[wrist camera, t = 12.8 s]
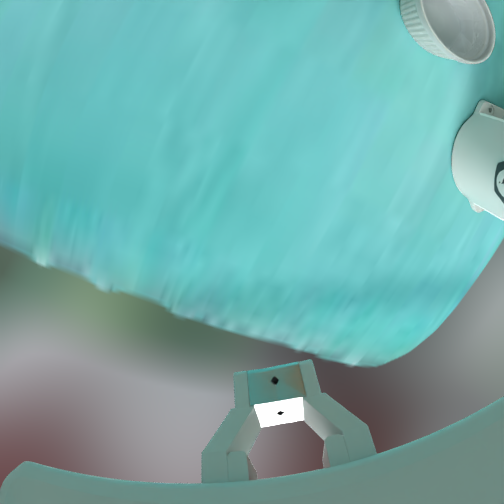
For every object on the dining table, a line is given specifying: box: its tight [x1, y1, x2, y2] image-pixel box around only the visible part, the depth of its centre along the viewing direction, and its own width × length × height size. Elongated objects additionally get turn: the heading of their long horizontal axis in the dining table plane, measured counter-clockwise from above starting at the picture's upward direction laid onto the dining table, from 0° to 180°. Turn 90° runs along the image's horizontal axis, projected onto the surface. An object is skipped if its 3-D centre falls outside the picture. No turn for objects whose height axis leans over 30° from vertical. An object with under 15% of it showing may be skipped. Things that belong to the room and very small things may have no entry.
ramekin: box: [400, 0, 495, 64], centre depth 23 cm, size 13×13×7 cm
